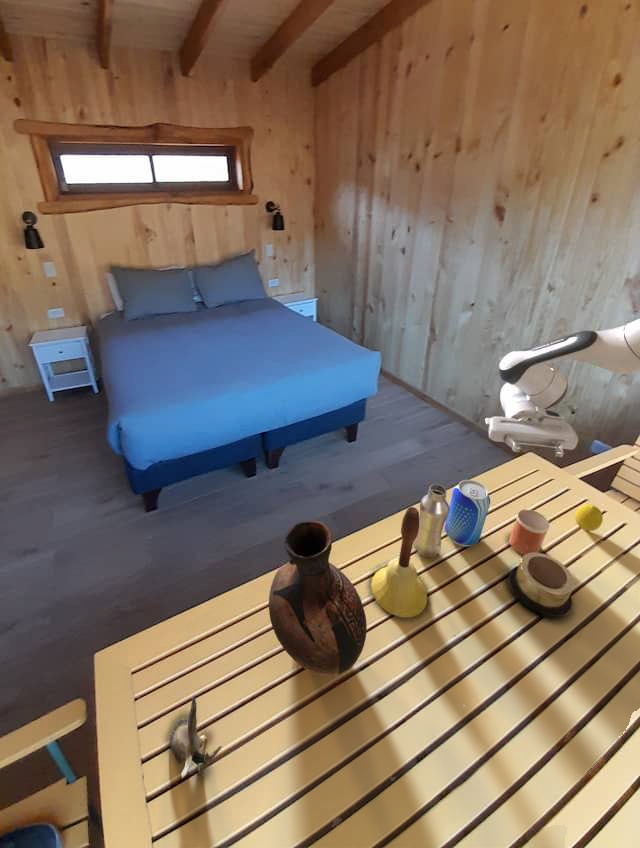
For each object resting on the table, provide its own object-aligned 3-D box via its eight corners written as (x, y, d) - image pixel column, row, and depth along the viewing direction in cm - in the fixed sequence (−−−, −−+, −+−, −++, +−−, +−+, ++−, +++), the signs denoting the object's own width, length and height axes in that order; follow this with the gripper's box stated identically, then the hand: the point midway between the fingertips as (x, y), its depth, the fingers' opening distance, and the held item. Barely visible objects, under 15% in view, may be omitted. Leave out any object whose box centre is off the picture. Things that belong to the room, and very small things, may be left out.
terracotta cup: (535, 537, 103) (545, 512, 99) (542, 559, 97) (553, 533, 93) (506, 532, 105) (514, 506, 101) (511, 553, 99) (521, 527, 95)
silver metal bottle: (419, 534, 105) (430, 475, 96) (444, 549, 100) (458, 489, 91) (406, 549, 101) (417, 489, 92) (431, 566, 96) (445, 505, 87)
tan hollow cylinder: (560, 575, 93) (570, 554, 90) (578, 626, 83) (589, 604, 80) (503, 563, 97) (510, 541, 93) (514, 610, 86) (522, 588, 83)
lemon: (571, 517, 109) (580, 495, 105) (596, 526, 106) (607, 504, 102) (570, 530, 105) (580, 508, 101) (596, 540, 102) (607, 518, 98)
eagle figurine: (232, 741, 67) (202, 690, 72) (213, 752, 61) (182, 696, 66) (200, 782, 65) (172, 727, 71) (177, 797, 60) (148, 737, 65)
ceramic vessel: (383, 668, 77) (401, 564, 64) (305, 722, 70) (307, 618, 56) (322, 580, 94) (326, 483, 80) (254, 616, 86) (246, 516, 73)
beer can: (436, 528, 106) (447, 483, 99) (460, 518, 109) (472, 473, 102) (461, 553, 99) (474, 506, 92) (486, 542, 102) (500, 495, 95)
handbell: (389, 556, 99) (401, 479, 88) (437, 590, 91) (457, 510, 80) (360, 590, 91) (369, 510, 80) (409, 629, 83) (427, 547, 72)
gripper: (486, 407, 113) (494, 437, 102) (569, 414, 108) (588, 447, 96) (482, 425, 116) (490, 456, 105) (563, 433, 111) (581, 467, 99)
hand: (538, 452), depth 100 cm, fingers open, 8 cm apart
